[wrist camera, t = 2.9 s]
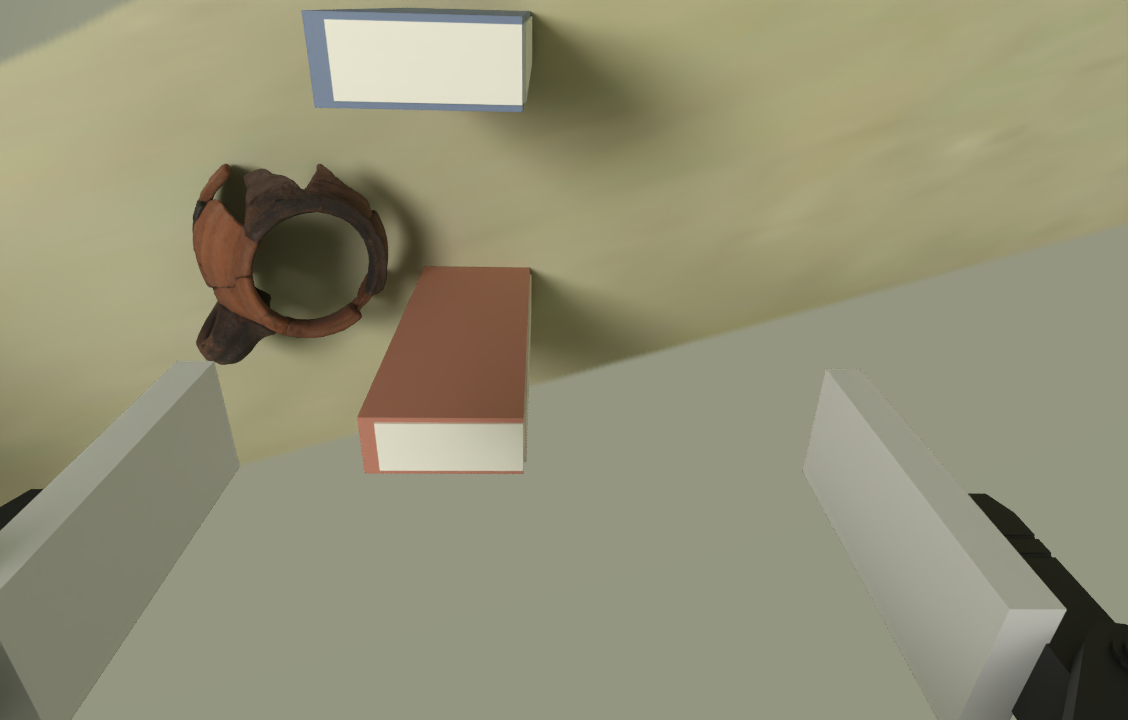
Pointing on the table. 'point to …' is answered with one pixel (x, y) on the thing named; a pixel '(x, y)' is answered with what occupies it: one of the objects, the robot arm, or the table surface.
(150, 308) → the table surface
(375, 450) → the brick red book
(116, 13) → the table surface
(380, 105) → the navy book
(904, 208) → the table surface
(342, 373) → the table surface
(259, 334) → the pottery mug
